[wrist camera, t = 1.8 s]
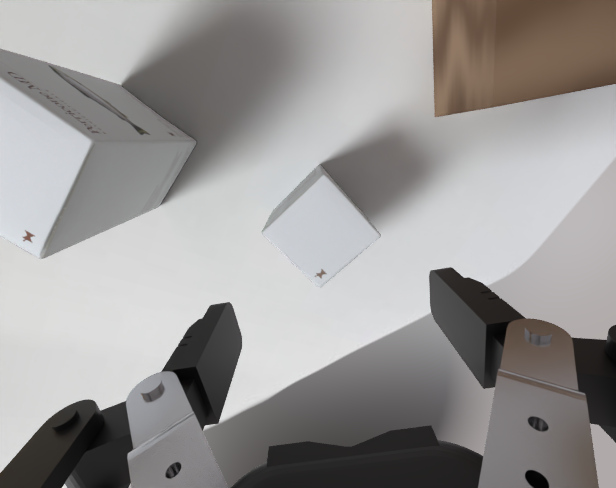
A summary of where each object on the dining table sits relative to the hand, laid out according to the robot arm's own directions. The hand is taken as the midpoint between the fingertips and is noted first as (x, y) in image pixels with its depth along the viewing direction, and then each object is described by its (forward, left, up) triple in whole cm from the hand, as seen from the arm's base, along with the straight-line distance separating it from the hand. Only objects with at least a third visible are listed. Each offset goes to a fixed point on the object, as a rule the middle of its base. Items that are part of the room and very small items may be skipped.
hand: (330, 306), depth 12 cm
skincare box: (0, 0, -16) cm, 16 cm away
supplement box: (-8, -14, -16) cm, 23 cm away
